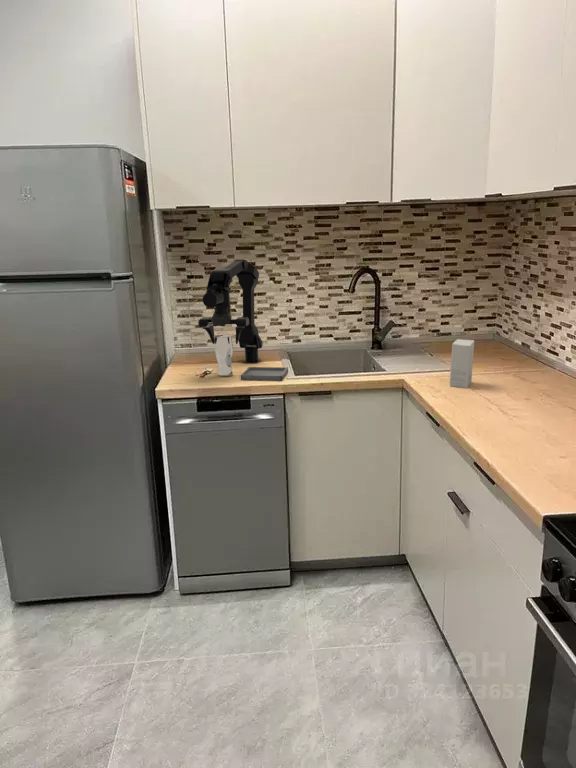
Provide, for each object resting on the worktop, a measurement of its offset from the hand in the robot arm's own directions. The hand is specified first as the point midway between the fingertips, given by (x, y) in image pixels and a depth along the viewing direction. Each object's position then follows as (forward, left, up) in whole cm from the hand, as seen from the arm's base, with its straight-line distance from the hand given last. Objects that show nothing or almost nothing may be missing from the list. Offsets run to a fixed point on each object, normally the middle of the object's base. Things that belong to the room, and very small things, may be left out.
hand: (225, 343), depth 228 cm
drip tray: (-1, +15, -13) cm, 20 cm away
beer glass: (0, -1, -13) cm, 13 cm away
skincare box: (+6, +88, -13) cm, 89 cm away
